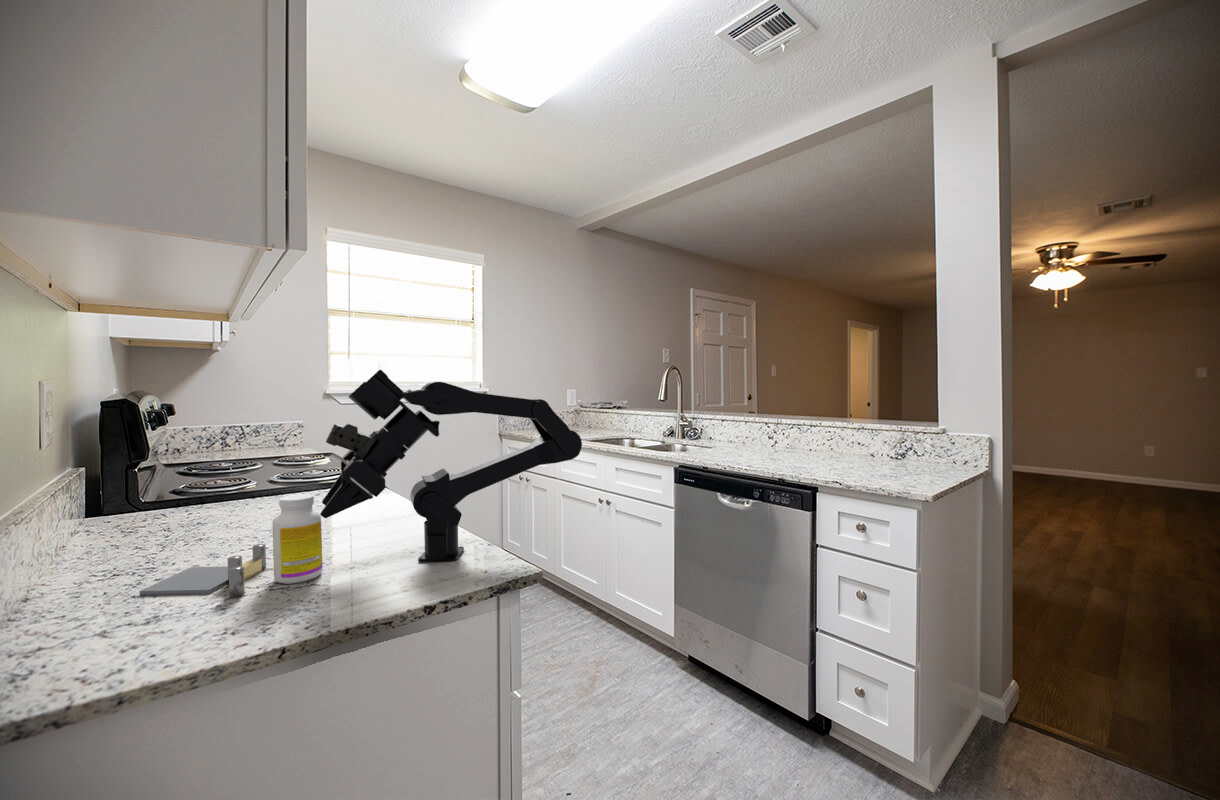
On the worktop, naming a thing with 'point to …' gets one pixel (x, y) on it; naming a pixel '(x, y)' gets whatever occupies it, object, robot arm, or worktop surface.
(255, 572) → the bent rail
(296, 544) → the supplement bottle
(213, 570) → the slate coaster
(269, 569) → the worktop surface
